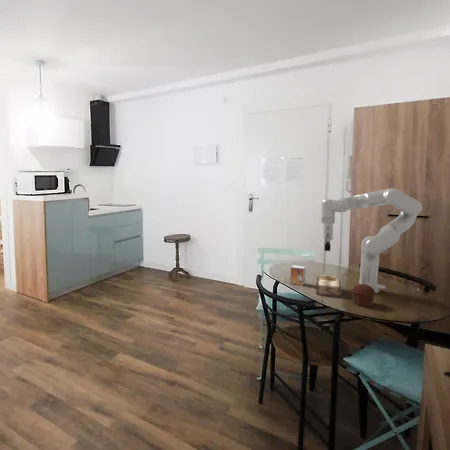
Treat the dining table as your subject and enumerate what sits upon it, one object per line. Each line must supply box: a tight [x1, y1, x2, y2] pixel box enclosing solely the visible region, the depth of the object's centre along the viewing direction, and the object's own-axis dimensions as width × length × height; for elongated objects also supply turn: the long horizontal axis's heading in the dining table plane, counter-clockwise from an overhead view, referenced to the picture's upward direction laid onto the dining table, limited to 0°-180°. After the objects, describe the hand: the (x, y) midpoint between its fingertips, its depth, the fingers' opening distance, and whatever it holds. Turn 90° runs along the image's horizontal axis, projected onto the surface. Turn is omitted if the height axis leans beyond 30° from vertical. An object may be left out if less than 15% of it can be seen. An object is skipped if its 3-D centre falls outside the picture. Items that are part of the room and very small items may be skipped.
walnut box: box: [315, 275, 342, 298], centre depth 198 cm, size 13×16×6 cm
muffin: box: [351, 283, 377, 308], centre depth 179 cm, size 12×11×10 cm
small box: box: [289, 264, 307, 286], centre depth 212 cm, size 8×6×10 cm
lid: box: [318, 274, 340, 288], centre depth 197 cm, size 11×14×3 cm
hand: (327, 249), depth 205 cm, fingers open, 9 cm apart
